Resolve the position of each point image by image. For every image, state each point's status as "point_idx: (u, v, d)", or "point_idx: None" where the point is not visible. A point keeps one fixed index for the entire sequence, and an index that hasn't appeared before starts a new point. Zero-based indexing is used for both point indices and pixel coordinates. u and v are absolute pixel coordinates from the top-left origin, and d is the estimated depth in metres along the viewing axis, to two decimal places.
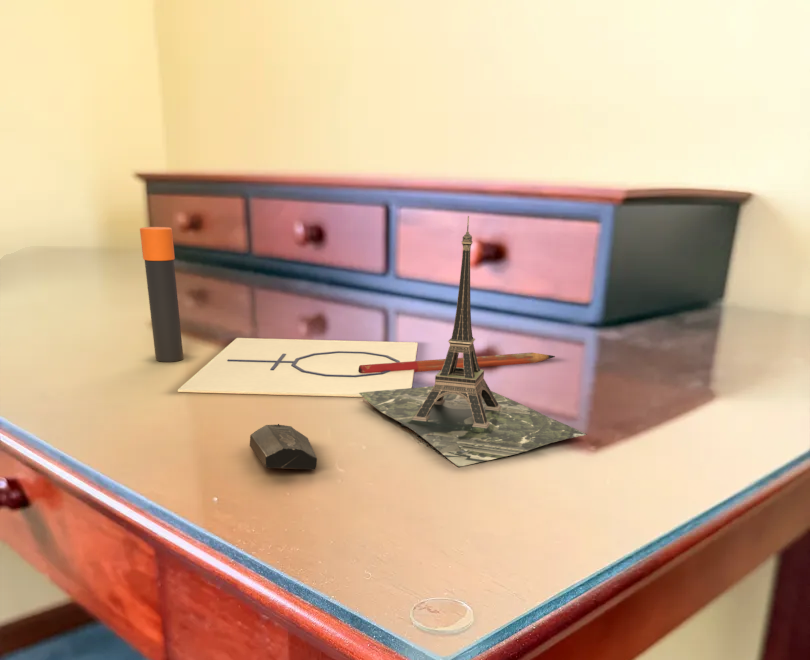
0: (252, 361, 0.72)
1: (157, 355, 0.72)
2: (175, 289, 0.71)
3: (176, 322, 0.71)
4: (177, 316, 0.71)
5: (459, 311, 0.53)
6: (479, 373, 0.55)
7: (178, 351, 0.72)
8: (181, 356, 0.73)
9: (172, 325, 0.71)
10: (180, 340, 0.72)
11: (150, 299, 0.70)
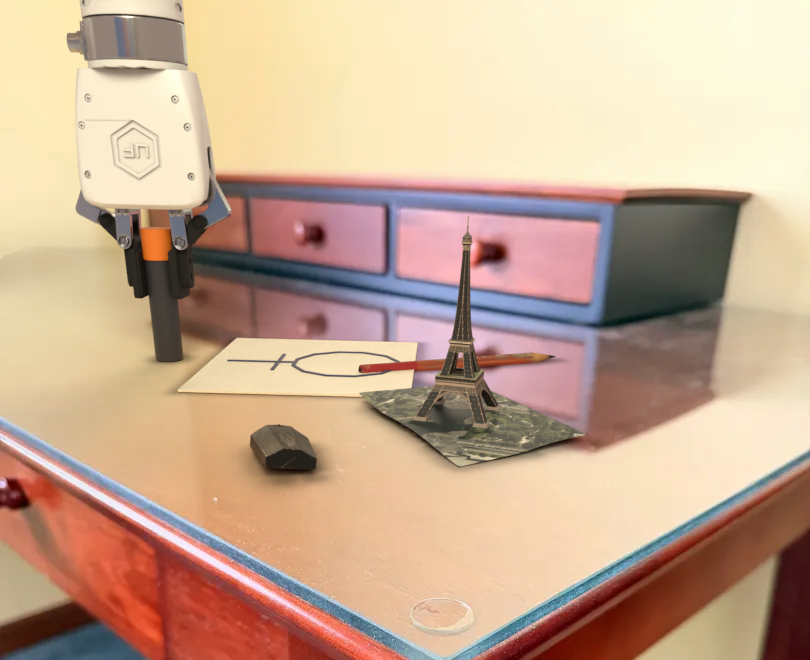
0: (252, 361, 0.72)
1: (157, 355, 0.72)
2: None
3: (176, 322, 0.71)
4: (177, 316, 0.71)
5: (459, 311, 0.53)
6: (479, 373, 0.55)
7: (178, 351, 0.72)
8: (181, 356, 0.73)
9: (172, 325, 0.71)
10: (180, 340, 0.72)
11: (150, 299, 0.70)
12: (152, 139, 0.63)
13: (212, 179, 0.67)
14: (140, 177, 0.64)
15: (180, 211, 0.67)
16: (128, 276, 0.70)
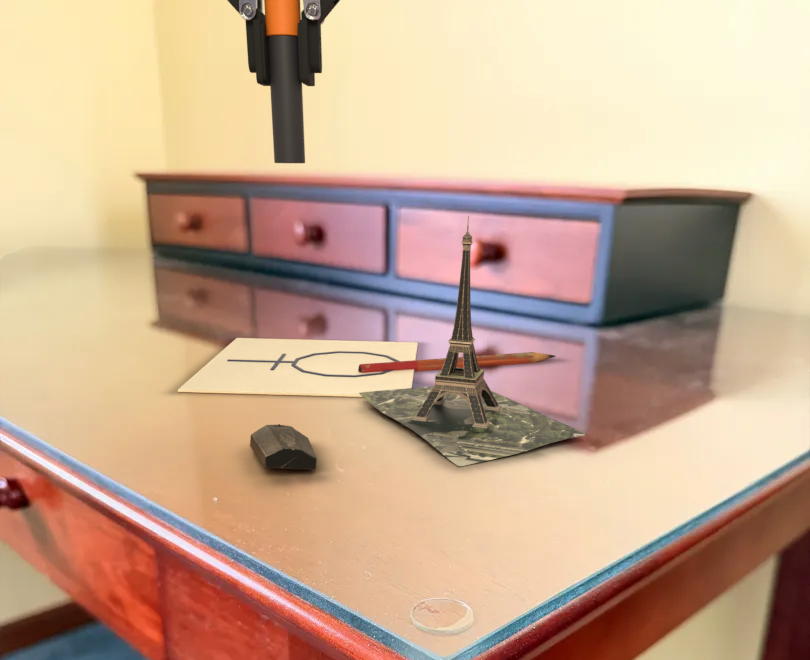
0: (252, 361, 0.72)
1: (277, 156, 0.63)
2: None
3: (300, 115, 0.63)
4: (301, 108, 0.63)
5: (459, 311, 0.53)
6: (479, 373, 0.55)
7: (301, 151, 0.63)
8: (304, 159, 0.64)
9: (296, 117, 0.62)
10: (303, 139, 0.64)
11: (272, 85, 0.61)
12: None
13: None
14: None
15: None
16: (249, 57, 0.61)
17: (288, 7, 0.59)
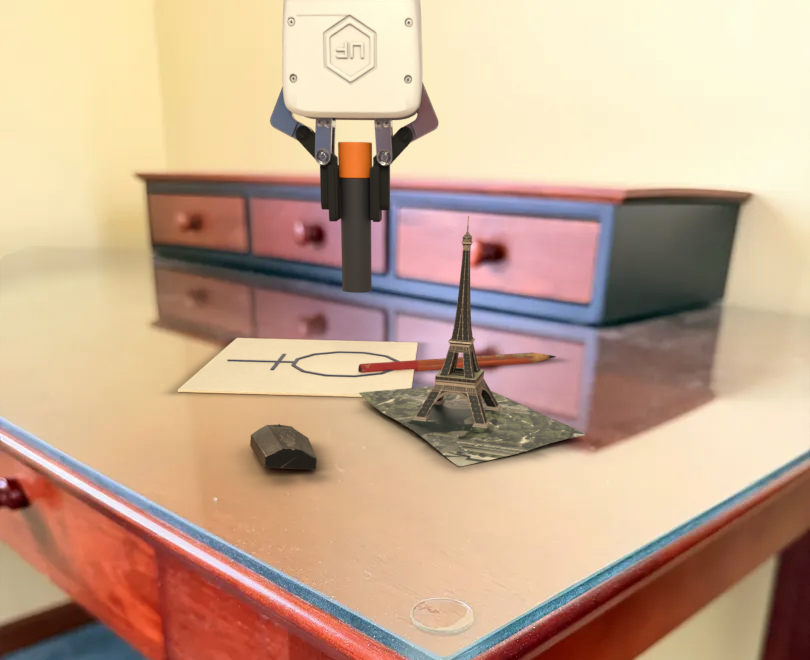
0: (252, 361, 0.72)
1: (346, 285, 0.66)
2: None
3: (369, 248, 0.66)
4: (370, 242, 0.66)
5: (459, 311, 0.53)
6: (479, 373, 0.55)
7: (369, 281, 0.67)
8: (370, 287, 0.67)
9: (365, 251, 0.65)
10: None
11: (343, 222, 0.64)
12: (369, 36, 0.57)
13: (423, 85, 0.61)
14: (352, 80, 0.59)
15: (388, 121, 0.61)
16: (322, 197, 0.64)
17: (361, 153, 0.62)
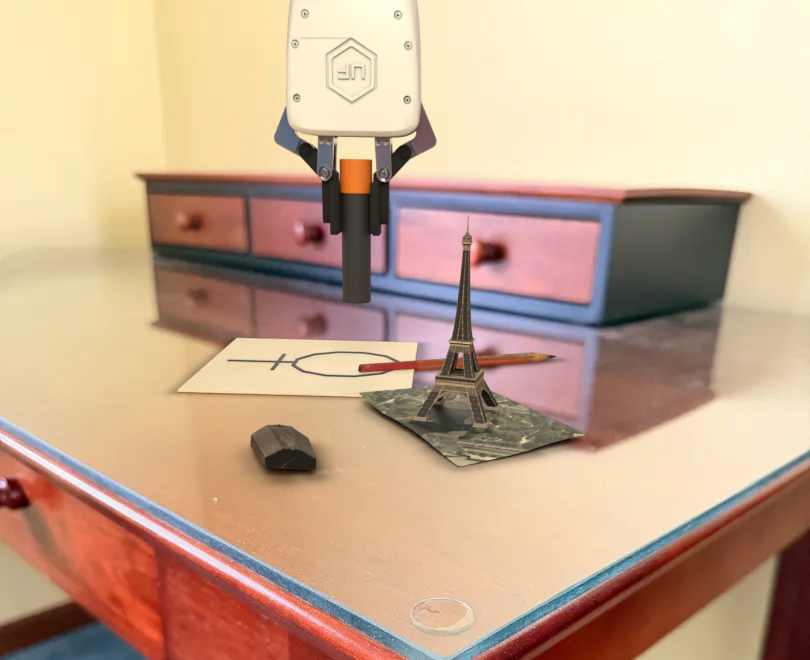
0: (252, 361, 0.72)
1: (346, 297, 0.69)
2: None
3: (369, 261, 0.68)
4: (370, 255, 0.68)
5: (459, 311, 0.53)
6: (479, 373, 0.55)
7: (368, 293, 0.69)
8: (370, 298, 0.69)
9: (365, 263, 0.67)
10: (370, 281, 0.69)
11: (344, 236, 0.67)
12: (370, 58, 0.60)
13: (422, 105, 0.63)
14: (353, 100, 0.61)
15: (387, 139, 0.63)
16: (323, 211, 0.66)
17: (362, 170, 0.64)
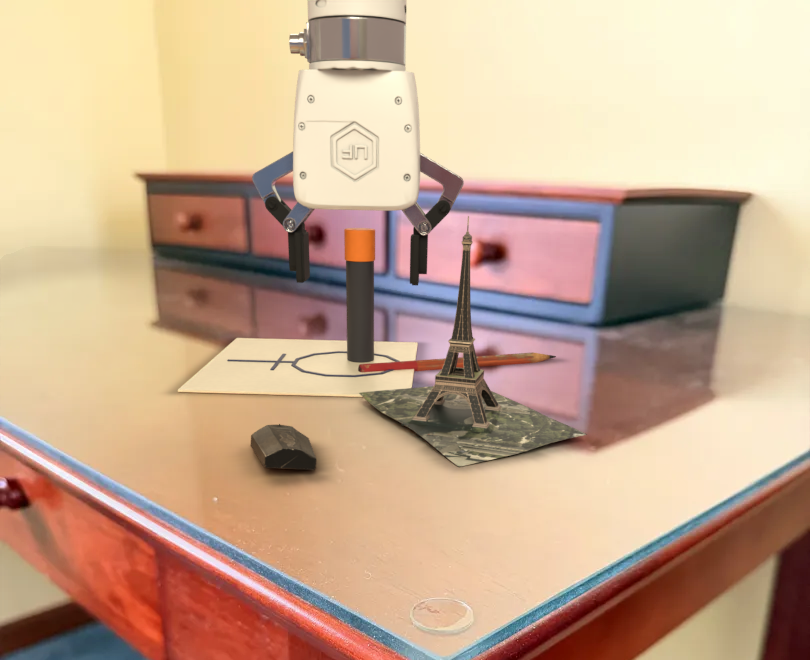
0: (252, 361, 0.72)
1: (351, 356, 0.72)
2: (373, 290, 0.71)
3: (372, 323, 0.72)
4: (373, 317, 0.72)
5: (459, 311, 0.53)
6: (479, 373, 0.55)
7: (371, 352, 0.73)
8: (373, 357, 0.73)
9: (368, 325, 0.71)
10: (373, 341, 0.73)
11: (349, 300, 0.71)
12: (372, 140, 0.63)
13: None
14: (356, 178, 0.65)
15: None
16: (290, 260, 0.69)
17: (366, 240, 0.68)
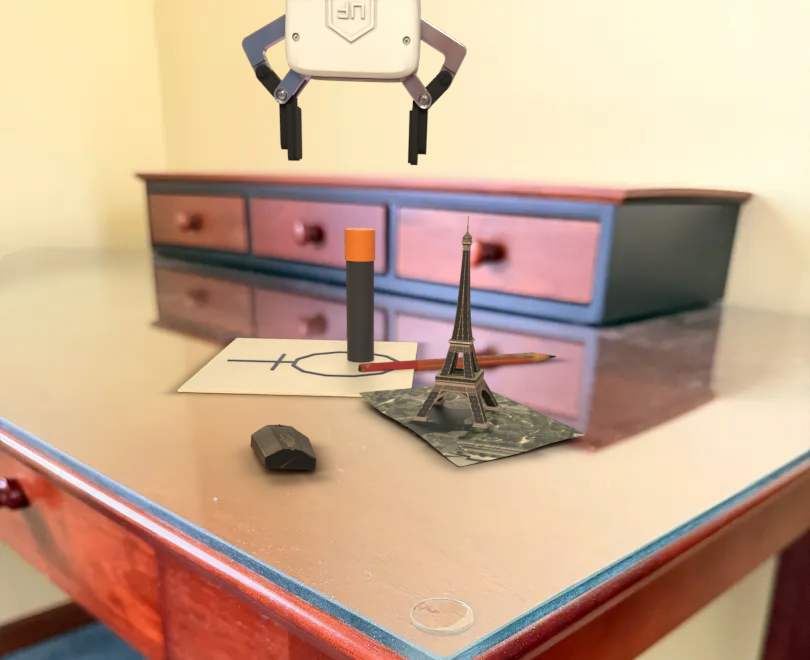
0: (252, 361, 0.72)
1: (351, 356, 0.72)
2: (373, 290, 0.71)
3: (372, 323, 0.72)
4: (373, 317, 0.72)
5: (459, 311, 0.53)
6: (479, 373, 0.55)
7: (371, 352, 0.73)
8: (373, 357, 0.73)
9: (368, 325, 0.71)
10: (373, 341, 0.73)
11: (349, 300, 0.71)
12: None
13: None
14: (352, 40, 0.61)
15: None
16: (281, 136, 0.65)
17: (366, 240, 0.68)
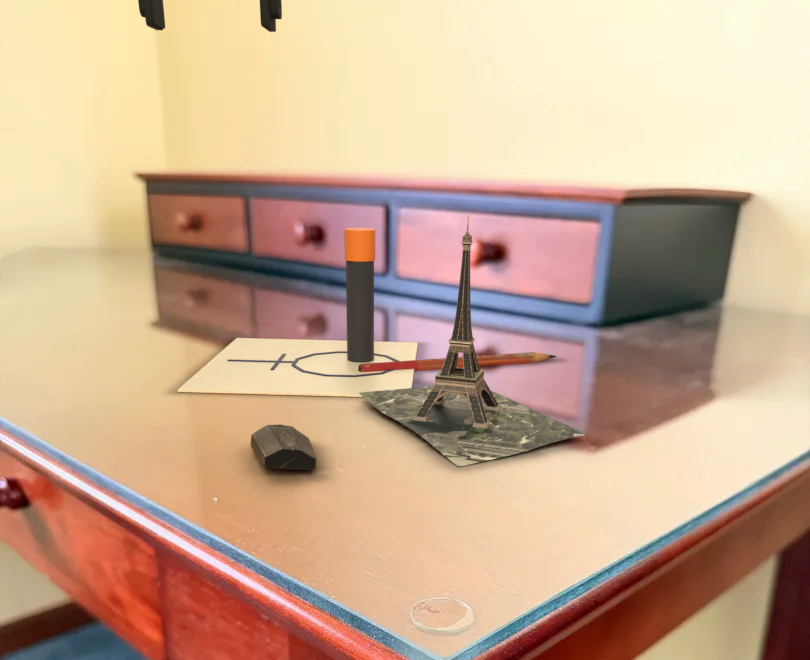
0: (252, 361, 0.72)
1: (351, 356, 0.72)
2: (373, 290, 0.71)
3: (372, 323, 0.72)
4: (373, 317, 0.72)
5: (459, 311, 0.53)
6: (479, 373, 0.55)
7: (371, 352, 0.73)
8: (373, 357, 0.73)
9: (368, 325, 0.71)
10: (373, 341, 0.73)
11: (349, 300, 0.71)
12: None
13: None
14: None
15: None
16: (139, 2, 0.68)
17: (366, 240, 0.68)
